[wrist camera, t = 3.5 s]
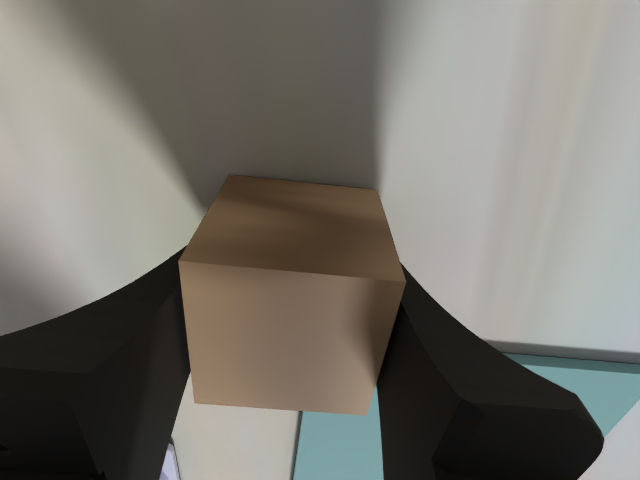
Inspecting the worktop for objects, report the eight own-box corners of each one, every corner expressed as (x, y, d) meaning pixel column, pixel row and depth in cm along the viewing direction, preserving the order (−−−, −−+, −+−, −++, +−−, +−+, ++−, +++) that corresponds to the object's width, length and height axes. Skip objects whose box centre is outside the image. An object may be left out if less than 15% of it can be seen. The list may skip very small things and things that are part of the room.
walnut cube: (231, 291, 15) (194, 403, 10) (229, 174, 12) (178, 260, 8) (354, 301, 15) (366, 415, 11) (377, 190, 12) (406, 281, 8)
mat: (289, 503, 25) (288, 513, 24) (312, 336, 16) (312, 347, 16) (517, 517, 26) (521, 527, 25) (650, 365, 17) (660, 376, 17)
